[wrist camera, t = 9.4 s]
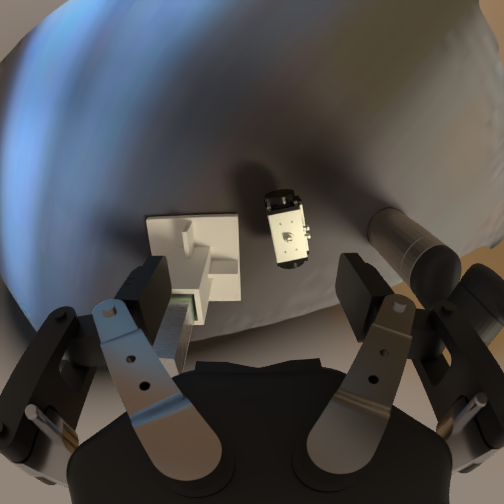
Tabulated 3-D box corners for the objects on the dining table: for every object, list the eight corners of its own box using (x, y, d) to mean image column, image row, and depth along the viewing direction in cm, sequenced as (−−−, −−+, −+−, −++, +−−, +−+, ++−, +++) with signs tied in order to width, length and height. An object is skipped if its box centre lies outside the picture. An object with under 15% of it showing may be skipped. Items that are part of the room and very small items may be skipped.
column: (199, 269, 44) (174, 358, 27) (201, 291, 46) (181, 381, 29) (175, 269, 44) (139, 355, 27) (178, 291, 46) (149, 378, 29)
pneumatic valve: (273, 245, 51) (280, 278, 41) (261, 185, 46) (265, 204, 36) (301, 239, 51) (315, 271, 40) (292, 179, 46) (306, 196, 35)
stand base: (238, 213, 49) (234, 253, 34) (240, 296, 57) (239, 352, 42) (148, 216, 48) (112, 255, 34) (162, 296, 56) (141, 348, 42)
